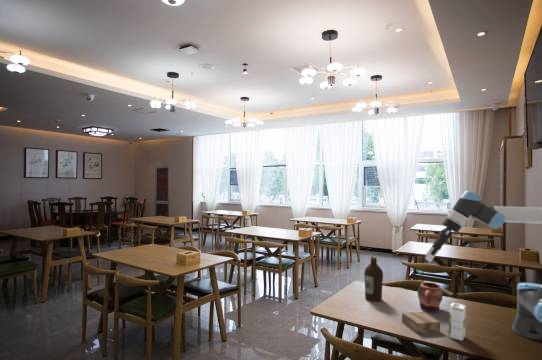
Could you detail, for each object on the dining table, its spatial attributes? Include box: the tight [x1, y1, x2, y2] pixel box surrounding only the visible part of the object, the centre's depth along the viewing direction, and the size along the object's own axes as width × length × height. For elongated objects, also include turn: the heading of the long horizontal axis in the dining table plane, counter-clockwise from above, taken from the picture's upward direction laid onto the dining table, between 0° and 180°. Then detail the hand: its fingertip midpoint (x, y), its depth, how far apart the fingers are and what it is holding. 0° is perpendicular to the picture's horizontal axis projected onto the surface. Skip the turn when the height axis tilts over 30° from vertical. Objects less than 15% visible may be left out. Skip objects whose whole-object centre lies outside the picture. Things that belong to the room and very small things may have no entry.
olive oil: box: [363, 256, 384, 303], centre depth 193 cm, size 11×11×25 cm
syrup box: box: [448, 302, 467, 342], centre depth 146 cm, size 6×6×14 cm
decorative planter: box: [417, 281, 443, 313], centre depth 177 cm, size 20×12×14 cm, turn 148°
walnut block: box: [401, 311, 441, 335], centre depth 156 cm, size 12×12×5 cm
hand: (427, 258), depth 153 cm, fingers open, 13 cm apart
